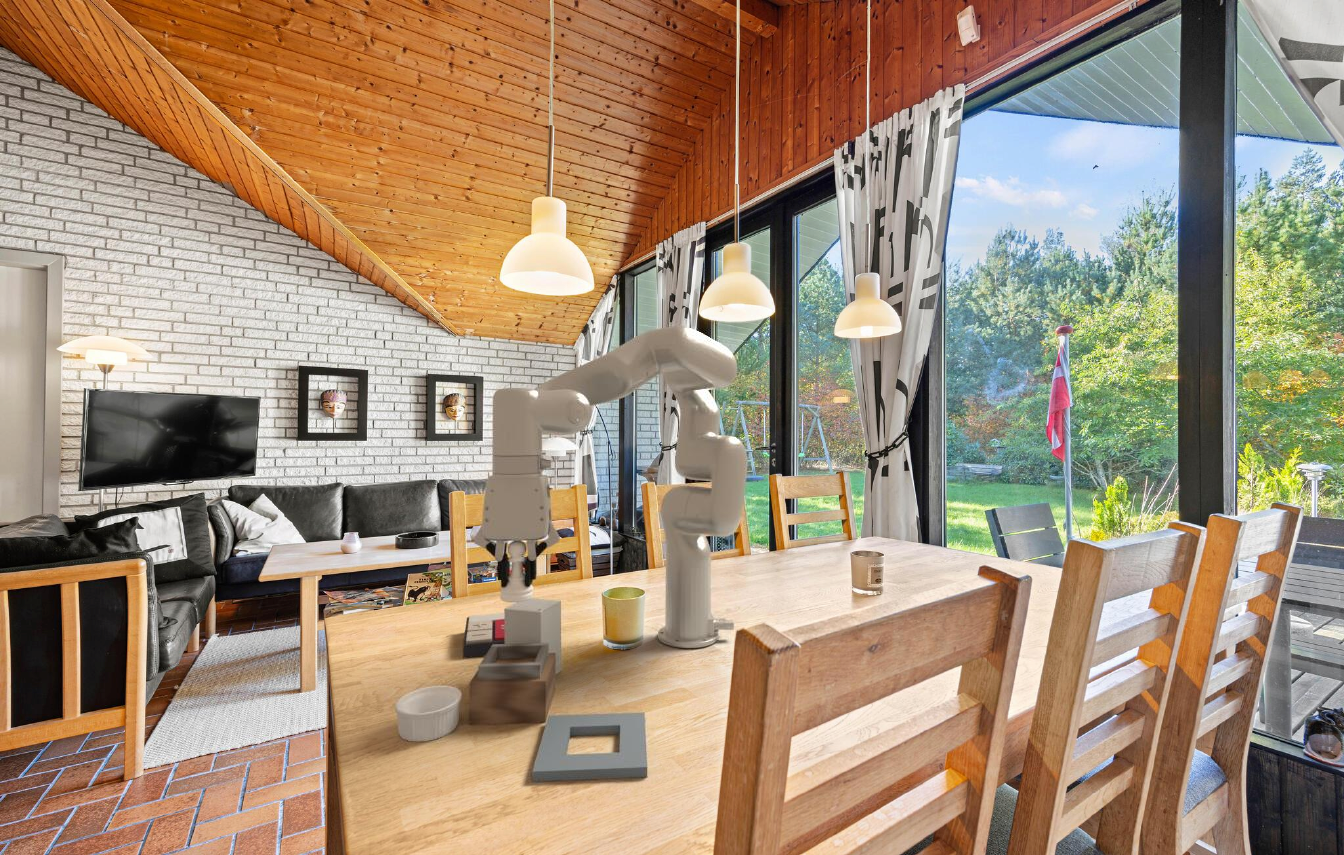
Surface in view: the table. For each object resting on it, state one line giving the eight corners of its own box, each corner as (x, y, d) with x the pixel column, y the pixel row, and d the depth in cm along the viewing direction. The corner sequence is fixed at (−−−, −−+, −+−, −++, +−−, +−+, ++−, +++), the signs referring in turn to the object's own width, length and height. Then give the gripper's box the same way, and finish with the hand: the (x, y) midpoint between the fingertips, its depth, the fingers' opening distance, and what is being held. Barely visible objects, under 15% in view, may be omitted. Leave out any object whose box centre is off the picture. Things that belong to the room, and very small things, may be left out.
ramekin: (420, 752, 76) (420, 719, 76) (381, 733, 81) (381, 702, 81) (474, 724, 84) (475, 694, 84) (436, 708, 88) (436, 680, 88)
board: (644, 720, 85) (644, 712, 85) (647, 776, 71) (647, 766, 71) (548, 723, 83) (548, 715, 84) (532, 781, 70) (532, 771, 70)
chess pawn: (538, 599, 89) (538, 541, 89) (505, 604, 86) (506, 544, 86) (527, 591, 93) (527, 536, 93) (496, 596, 90) (496, 539, 90)
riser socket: (555, 689, 95) (555, 640, 95) (545, 722, 84) (545, 667, 84) (487, 691, 94) (488, 642, 94) (469, 724, 83) (469, 669, 83)
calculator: (463, 641, 108) (466, 613, 122) (462, 663, 108) (466, 633, 122) (523, 635, 111) (520, 608, 125) (522, 657, 111) (519, 628, 126)
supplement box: (562, 670, 102) (563, 600, 103) (540, 688, 95) (540, 612, 96) (527, 665, 105) (527, 596, 105) (502, 681, 98) (503, 607, 98)
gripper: (572, 465, 94) (572, 577, 94) (470, 466, 93) (470, 579, 92) (567, 468, 86) (567, 590, 86) (456, 468, 85) (456, 592, 85)
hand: (517, 583), depth 89 cm, fingers closed on chess pawn, 3 cm apart
